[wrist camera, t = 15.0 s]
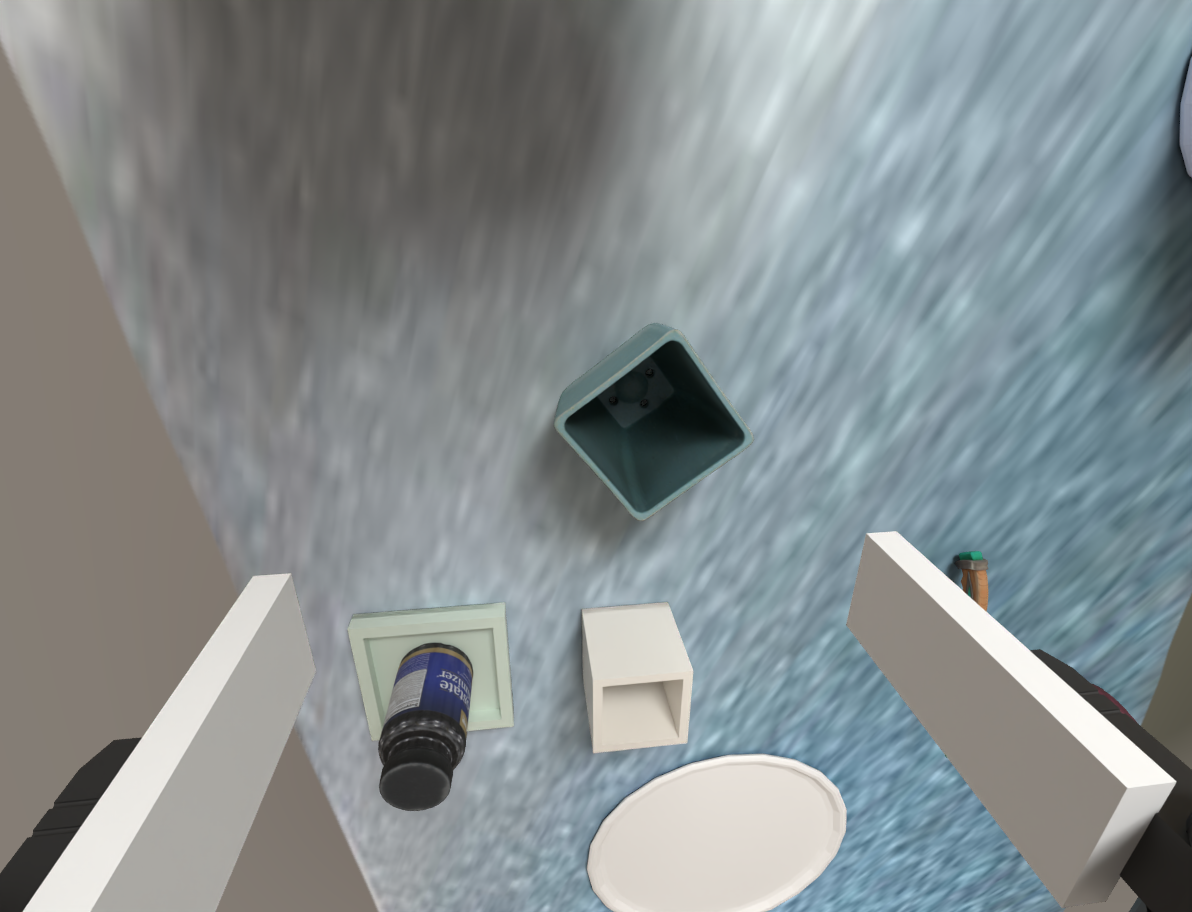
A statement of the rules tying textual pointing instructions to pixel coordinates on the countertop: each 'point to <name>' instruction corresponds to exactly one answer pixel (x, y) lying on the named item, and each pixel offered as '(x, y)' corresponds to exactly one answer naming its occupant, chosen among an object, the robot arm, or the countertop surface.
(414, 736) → the pill bottle
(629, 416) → the flower pot
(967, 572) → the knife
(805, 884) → the plate
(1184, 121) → the soap bottle
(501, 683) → the tray
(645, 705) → the open cream box
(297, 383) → the countertop surface
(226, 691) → the robot arm
